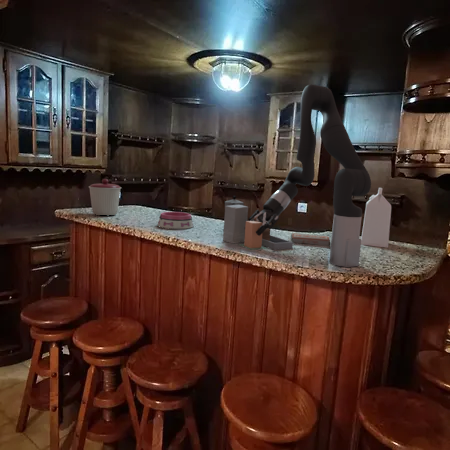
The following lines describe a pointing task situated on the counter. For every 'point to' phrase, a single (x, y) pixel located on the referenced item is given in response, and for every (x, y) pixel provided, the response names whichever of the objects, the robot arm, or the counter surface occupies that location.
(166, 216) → the dog bowl
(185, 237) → the counter surface
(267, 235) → the walnut block
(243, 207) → the skincare box
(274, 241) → the grey bin
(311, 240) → the packaged product
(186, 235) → the counter surface
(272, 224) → the robot arm
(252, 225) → the terracotta carton
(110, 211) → the canister
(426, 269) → the counter surface
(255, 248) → the green mat
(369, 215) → the milk
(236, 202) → the coffeepot
